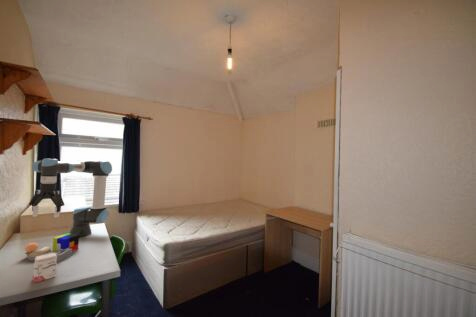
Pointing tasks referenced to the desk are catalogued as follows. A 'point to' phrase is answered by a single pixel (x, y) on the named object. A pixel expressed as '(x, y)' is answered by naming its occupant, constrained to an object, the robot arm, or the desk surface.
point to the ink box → (45, 267)
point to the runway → (47, 250)
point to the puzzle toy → (65, 242)
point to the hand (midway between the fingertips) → (45, 216)
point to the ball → (31, 247)
